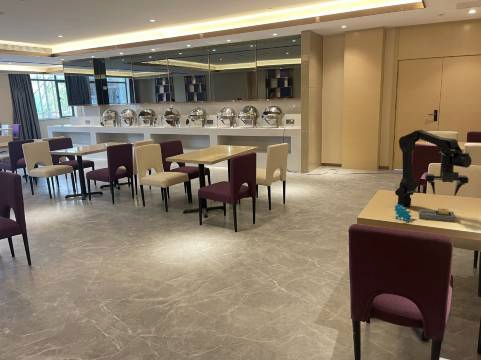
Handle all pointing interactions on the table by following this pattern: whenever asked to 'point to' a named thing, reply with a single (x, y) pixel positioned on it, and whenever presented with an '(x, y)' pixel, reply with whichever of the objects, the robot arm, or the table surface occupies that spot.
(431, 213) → the panel
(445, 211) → the wooden block
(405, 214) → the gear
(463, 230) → the table surface
